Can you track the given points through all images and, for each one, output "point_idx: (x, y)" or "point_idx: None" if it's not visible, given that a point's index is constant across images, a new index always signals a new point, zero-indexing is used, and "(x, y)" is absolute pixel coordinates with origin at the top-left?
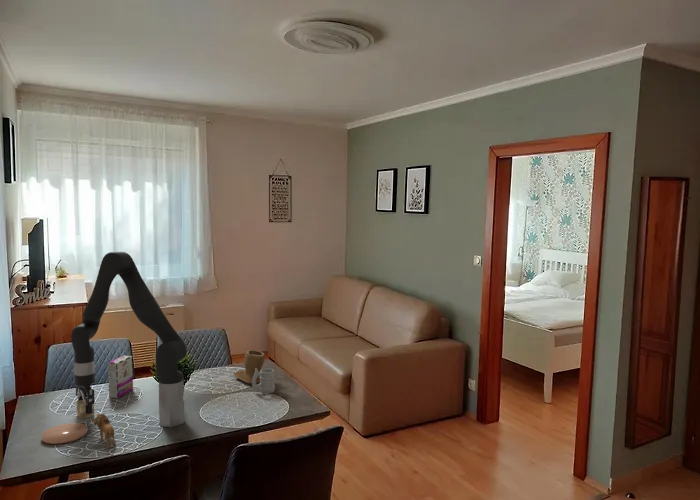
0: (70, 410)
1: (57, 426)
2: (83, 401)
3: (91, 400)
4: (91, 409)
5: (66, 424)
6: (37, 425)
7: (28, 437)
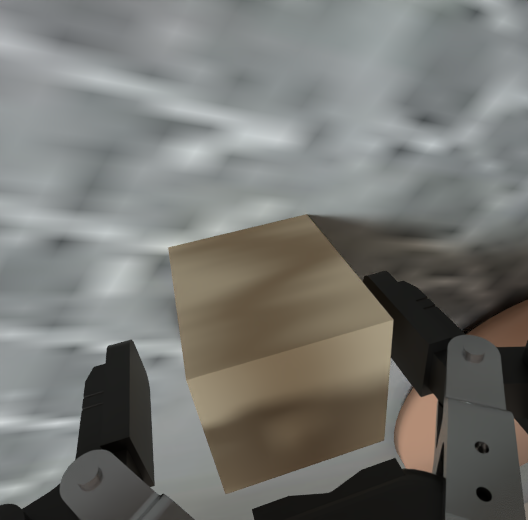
0: (18, 404)
1: (416, 449)
2: (285, 432)
3: (500, 388)
4: (429, 302)
5: (429, 413)
6: (242, 516)
7: None
